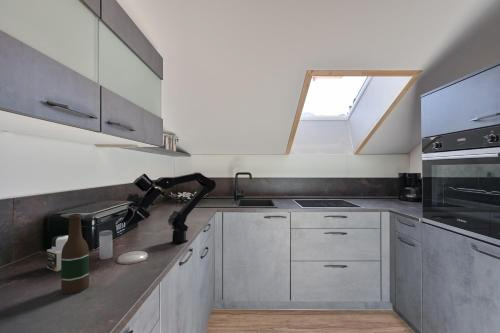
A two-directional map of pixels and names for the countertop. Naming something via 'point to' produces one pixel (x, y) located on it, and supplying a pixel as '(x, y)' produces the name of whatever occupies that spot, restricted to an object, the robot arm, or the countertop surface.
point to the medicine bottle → (56, 252)
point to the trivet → (132, 257)
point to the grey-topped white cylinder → (105, 244)
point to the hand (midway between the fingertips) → (124, 224)
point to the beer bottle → (74, 259)
